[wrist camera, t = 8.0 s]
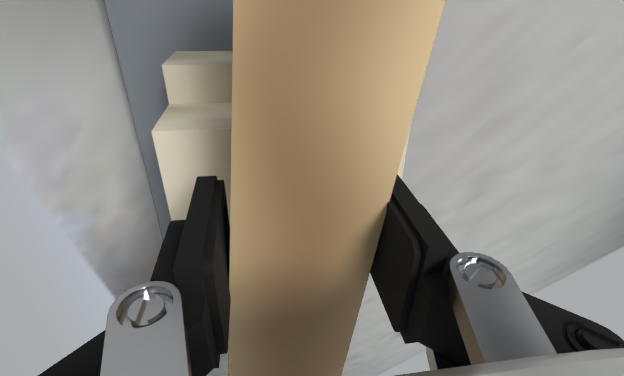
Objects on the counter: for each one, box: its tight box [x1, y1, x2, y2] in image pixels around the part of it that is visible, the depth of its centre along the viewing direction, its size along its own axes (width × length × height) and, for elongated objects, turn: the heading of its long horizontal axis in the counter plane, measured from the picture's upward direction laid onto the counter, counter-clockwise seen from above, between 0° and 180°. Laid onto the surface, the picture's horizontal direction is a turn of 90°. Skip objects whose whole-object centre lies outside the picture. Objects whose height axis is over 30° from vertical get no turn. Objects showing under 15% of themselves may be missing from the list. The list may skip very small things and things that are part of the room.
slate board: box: [104, 0, 233, 240], centre depth 19 cm, size 14×22×1 cm, turn 179°
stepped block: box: [151, 51, 411, 223], centre depth 16 cm, size 9×7×6 cm
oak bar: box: [228, 0, 445, 376], centre depth 11 cm, size 4×20×4 cm, turn 173°
